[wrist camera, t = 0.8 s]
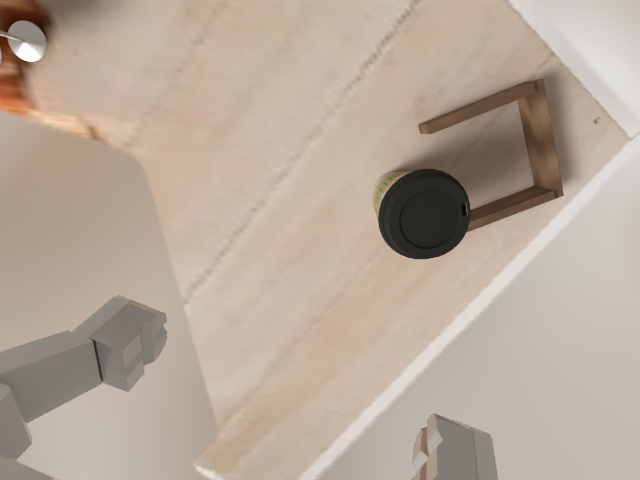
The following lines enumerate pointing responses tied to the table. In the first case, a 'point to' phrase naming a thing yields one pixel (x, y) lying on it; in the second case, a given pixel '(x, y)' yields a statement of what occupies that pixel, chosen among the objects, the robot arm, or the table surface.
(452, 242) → the coffee cup
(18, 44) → the goblet set
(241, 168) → the table surface
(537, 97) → the walnut caddy
